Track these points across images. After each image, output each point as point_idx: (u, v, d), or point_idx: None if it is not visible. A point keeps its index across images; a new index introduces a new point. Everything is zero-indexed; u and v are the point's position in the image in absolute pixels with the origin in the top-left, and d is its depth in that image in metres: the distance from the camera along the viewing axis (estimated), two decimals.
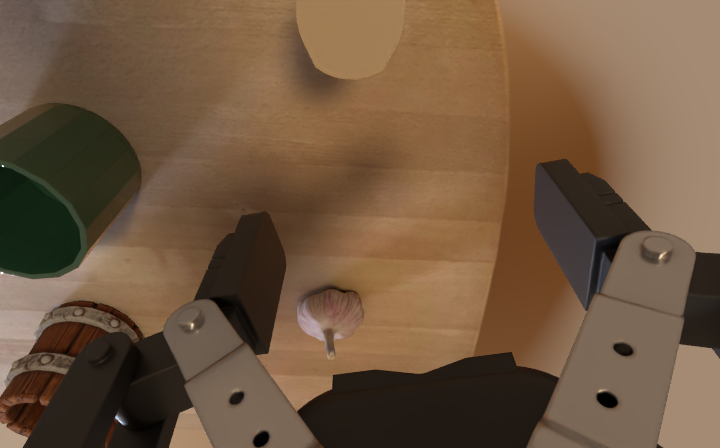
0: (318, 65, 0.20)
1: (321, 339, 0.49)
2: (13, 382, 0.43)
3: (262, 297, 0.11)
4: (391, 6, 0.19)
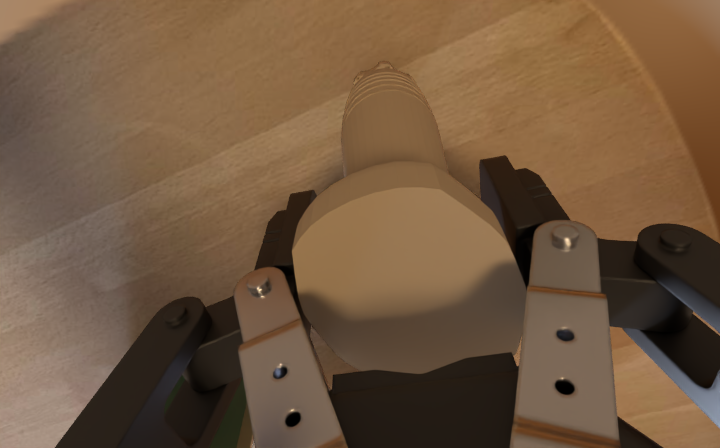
0: None
1: None
2: None
3: None
4: (491, 280, 0.09)
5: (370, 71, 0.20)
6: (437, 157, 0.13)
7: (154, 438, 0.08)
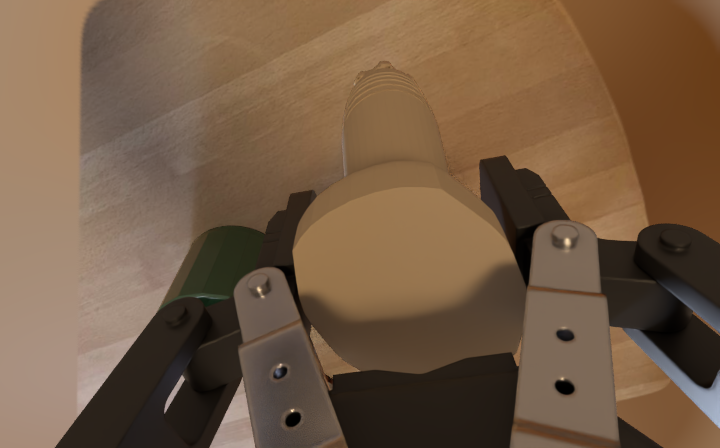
0: None
1: None
2: None
3: None
4: (491, 279, 0.09)
5: (370, 71, 0.20)
6: (437, 157, 0.13)
7: (154, 438, 0.08)
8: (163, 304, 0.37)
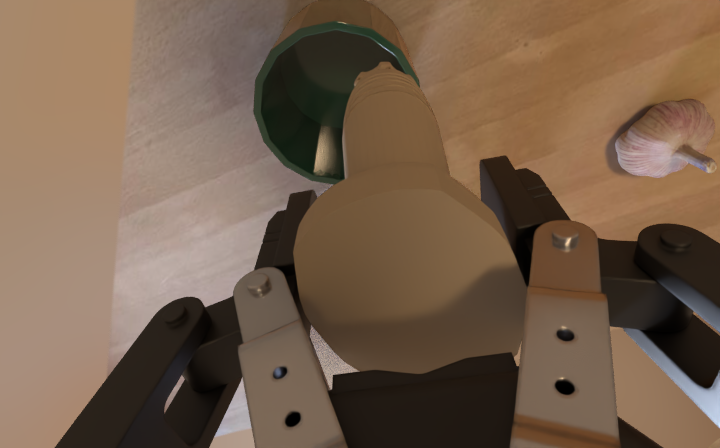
0: None
1: (664, 173, 0.38)
2: None
3: None
4: (492, 281, 0.09)
5: (371, 71, 0.20)
6: (438, 158, 0.13)
7: (154, 438, 0.08)
8: (275, 46, 0.26)
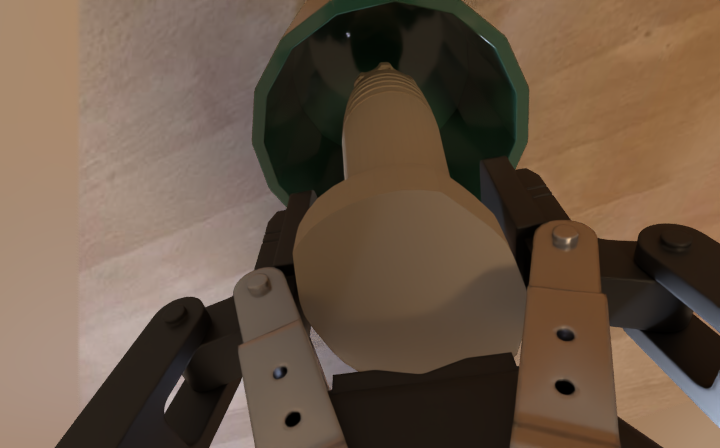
0: None
1: None
2: None
3: None
4: (492, 281, 0.09)
5: (371, 72, 0.20)
6: (438, 158, 0.13)
7: (154, 438, 0.08)
8: (288, 33, 0.15)
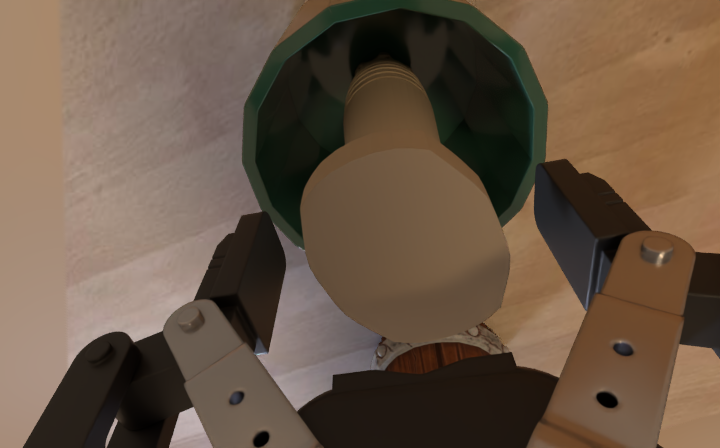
0: (397, 339, 0.13)
1: None
2: None
3: (262, 297, 0.11)
4: (476, 235, 0.10)
5: (370, 61, 0.22)
6: (431, 135, 0.14)
7: None
8: (281, 43, 0.13)
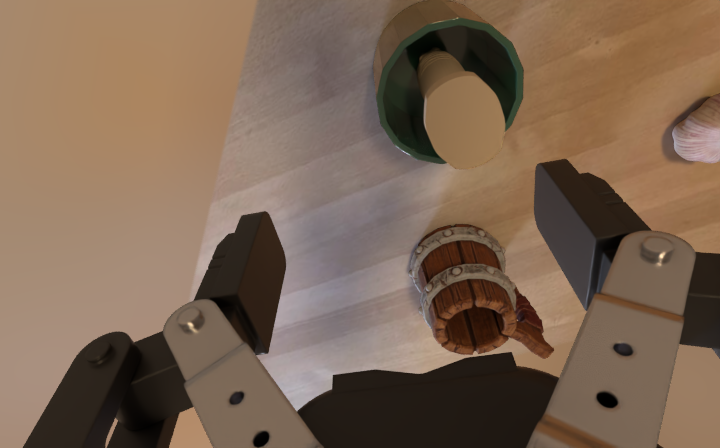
0: (456, 167, 0.29)
1: (719, 158, 0.43)
2: (439, 300, 0.45)
3: (261, 297, 0.11)
4: (492, 113, 0.27)
5: (428, 52, 0.38)
6: None
7: None
8: (404, 39, 0.30)
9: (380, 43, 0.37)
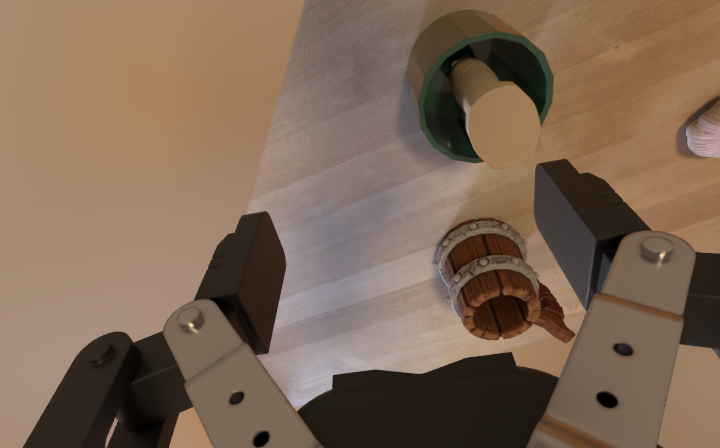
0: (495, 166, 0.33)
1: None
2: (467, 289, 0.48)
3: (262, 297, 0.11)
4: (529, 118, 0.30)
5: (460, 59, 0.41)
6: None
7: None
8: (445, 51, 0.33)
9: (416, 51, 0.40)
